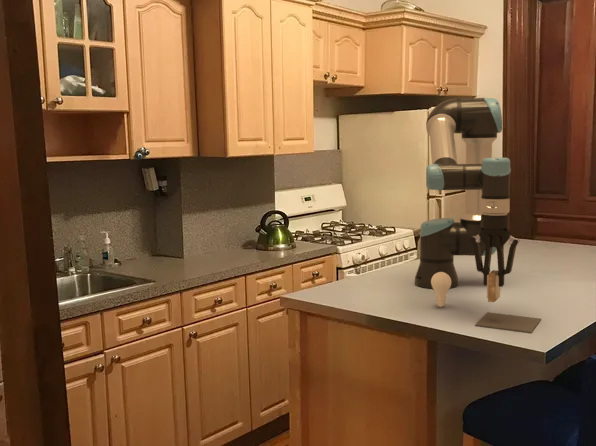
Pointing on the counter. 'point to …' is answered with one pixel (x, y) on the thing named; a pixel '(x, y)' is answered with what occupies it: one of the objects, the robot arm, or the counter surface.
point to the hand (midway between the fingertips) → (493, 297)
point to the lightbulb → (441, 287)
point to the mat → (508, 322)
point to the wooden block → (492, 286)
